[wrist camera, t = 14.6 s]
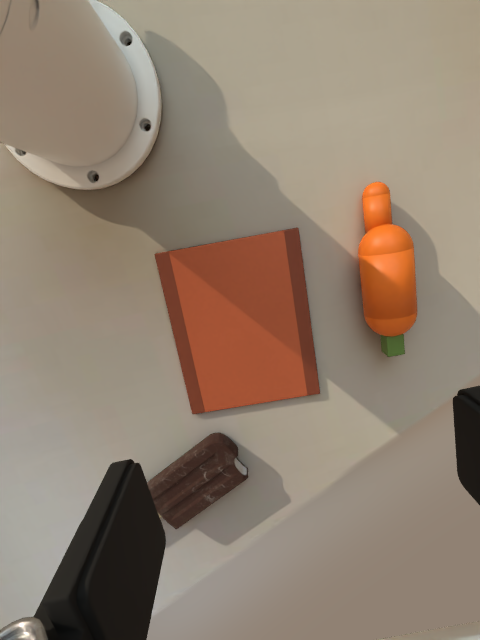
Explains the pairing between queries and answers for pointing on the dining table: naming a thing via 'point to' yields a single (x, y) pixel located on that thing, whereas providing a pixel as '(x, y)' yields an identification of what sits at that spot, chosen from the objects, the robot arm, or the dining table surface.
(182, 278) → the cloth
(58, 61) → the robot arm
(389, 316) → the carrot
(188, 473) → the ice cream bar
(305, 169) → the dining table surface
